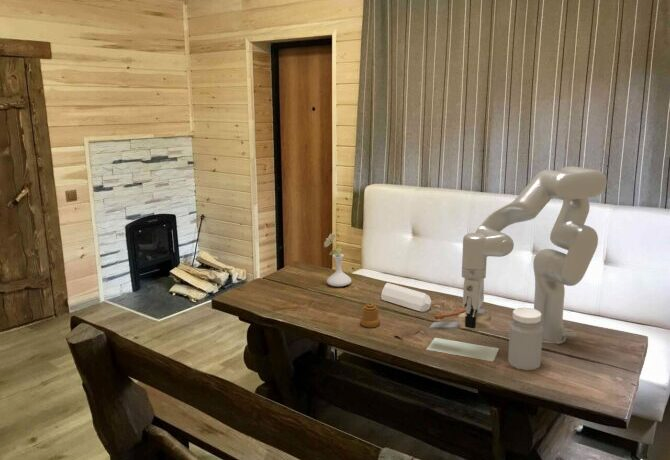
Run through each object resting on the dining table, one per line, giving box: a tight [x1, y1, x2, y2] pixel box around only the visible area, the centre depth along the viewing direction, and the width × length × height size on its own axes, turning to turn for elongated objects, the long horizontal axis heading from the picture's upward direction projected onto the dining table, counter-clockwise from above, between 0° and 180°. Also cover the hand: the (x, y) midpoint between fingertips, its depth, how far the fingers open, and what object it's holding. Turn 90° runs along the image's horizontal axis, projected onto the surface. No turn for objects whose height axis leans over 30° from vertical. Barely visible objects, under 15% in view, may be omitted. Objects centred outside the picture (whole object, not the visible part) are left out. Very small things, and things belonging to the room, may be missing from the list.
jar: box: [507, 306, 543, 371], centre depth 174 cm, size 10×10×18 cm
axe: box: [434, 305, 490, 320], centre depth 216 cm, size 22×6×2 cm, turn 117°
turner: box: [428, 312, 493, 331], centre depth 184 cm, size 20×5×4 cm, turn 63°
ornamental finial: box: [359, 303, 381, 329], centre depth 210 cm, size 8×8×8 cm
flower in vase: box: [323, 231, 352, 287], centre depth 251 cm, size 13×11×25 cm
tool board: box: [425, 337, 500, 362], centre depth 186 cm, size 22×10×1 cm, turn 63°
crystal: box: [380, 282, 432, 313], centre depth 228 cm, size 7×7×24 cm
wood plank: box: [394, 326, 425, 340], centre depth 201 cm, size 15×2×5 cm
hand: (471, 325), depth 182 cm, fingers closed on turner, 2 cm apart
